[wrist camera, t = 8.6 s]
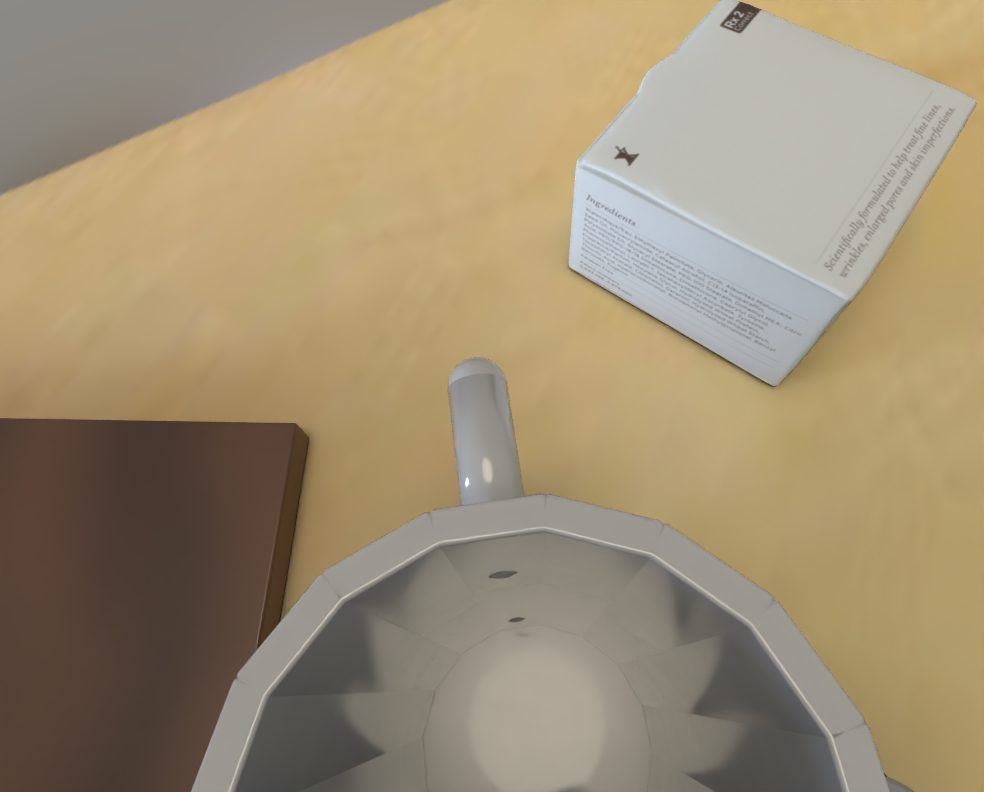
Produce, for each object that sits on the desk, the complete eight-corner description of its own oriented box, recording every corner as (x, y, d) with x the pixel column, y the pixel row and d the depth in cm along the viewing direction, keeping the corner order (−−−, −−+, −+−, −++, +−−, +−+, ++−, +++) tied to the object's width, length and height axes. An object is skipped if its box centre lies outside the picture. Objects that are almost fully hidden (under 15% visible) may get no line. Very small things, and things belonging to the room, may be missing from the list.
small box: (778, 396, 20) (852, 307, 15) (561, 268, 22) (568, 156, 17) (893, 220, 22) (989, 95, 17) (685, 120, 24) (721, -15, 20)
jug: (690, 874, 15) (1071, 1344, 4) (424, 912, 15) (143, 1473, 4) (610, 495, 19) (710, 234, 8) (395, 526, 19) (202, 309, 8)
